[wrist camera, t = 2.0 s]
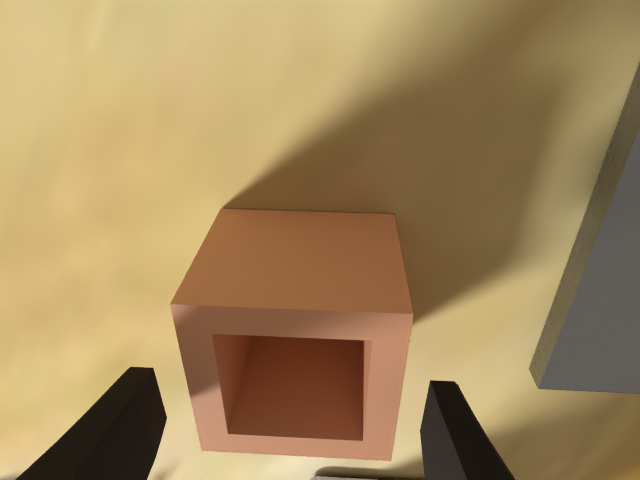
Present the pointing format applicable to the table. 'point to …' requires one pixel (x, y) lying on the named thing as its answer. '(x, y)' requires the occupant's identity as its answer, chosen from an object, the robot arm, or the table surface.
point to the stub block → (601, 280)
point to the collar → (296, 333)
